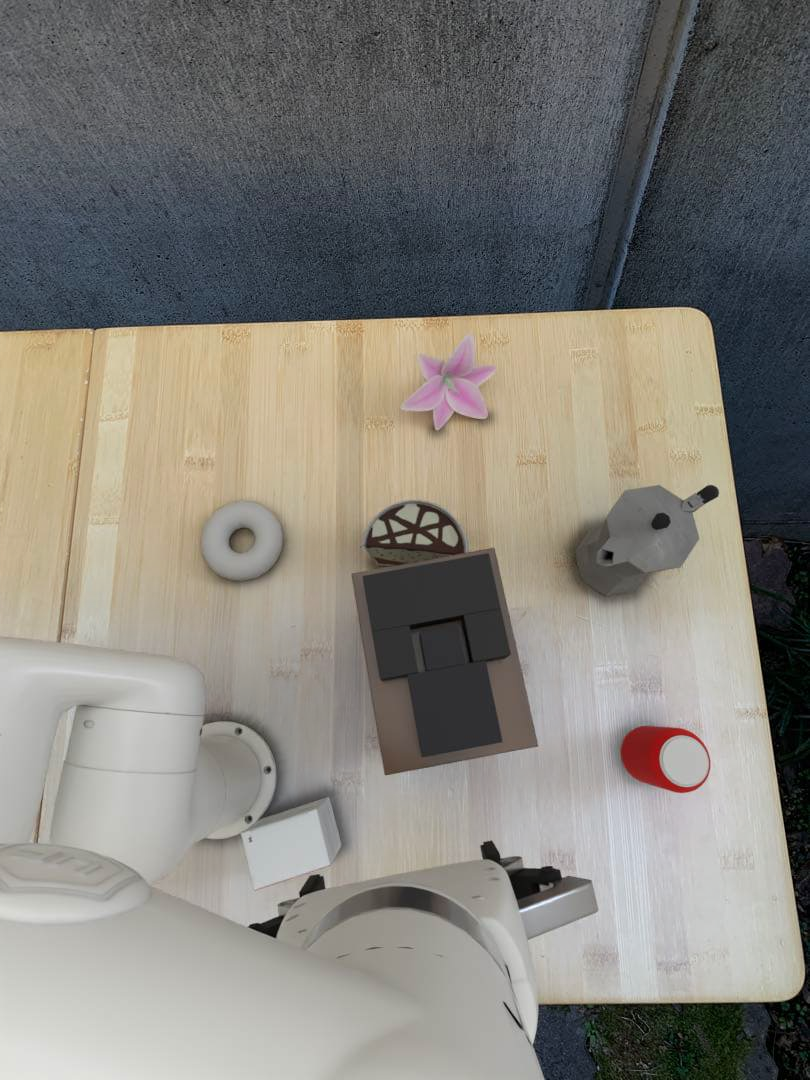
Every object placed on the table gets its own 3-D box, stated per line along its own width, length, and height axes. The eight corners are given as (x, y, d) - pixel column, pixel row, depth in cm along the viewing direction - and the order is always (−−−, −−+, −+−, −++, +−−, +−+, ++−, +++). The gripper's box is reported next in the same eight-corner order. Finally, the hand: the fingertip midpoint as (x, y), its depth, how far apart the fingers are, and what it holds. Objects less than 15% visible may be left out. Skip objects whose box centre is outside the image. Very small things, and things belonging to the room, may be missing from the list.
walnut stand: (395, 754, 78) (384, 775, 52) (372, 617, 82) (351, 573, 56) (498, 735, 78) (538, 746, 52) (470, 599, 82) (494, 547, 56)
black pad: (381, 681, 54) (379, 679, 51) (365, 583, 56) (362, 575, 53) (506, 657, 54) (511, 654, 51) (485, 561, 56) (488, 552, 53)
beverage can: (657, 717, 78) (698, 718, 67) (681, 770, 77) (728, 780, 65) (608, 737, 78) (642, 741, 66) (632, 791, 77) (671, 805, 65)
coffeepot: (589, 621, 81) (636, 596, 64) (545, 555, 83) (578, 514, 66) (693, 555, 83) (766, 513, 66) (647, 493, 85) (706, 436, 68)
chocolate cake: (468, 524, 85) (475, 500, 75) (465, 573, 83) (471, 554, 73) (370, 515, 85) (364, 490, 75) (365, 563, 84) (358, 544, 74)
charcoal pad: (421, 755, 52) (421, 757, 49) (400, 639, 54) (399, 635, 51) (498, 740, 52) (502, 742, 49) (474, 625, 55) (477, 620, 52)
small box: (273, 868, 75) (251, 893, 65) (261, 816, 77) (237, 832, 66) (343, 846, 76) (332, 867, 66) (330, 795, 77) (317, 807, 67)
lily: (386, 422, 89) (405, 425, 80) (400, 330, 87) (421, 322, 78) (472, 436, 92) (498, 440, 83) (487, 348, 90) (516, 342, 81)
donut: (220, 595, 83) (296, 565, 84) (211, 590, 80) (291, 559, 80) (195, 522, 85) (270, 493, 86) (186, 514, 82) (264, 484, 83)
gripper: (131, 1225, 20) (261, 993, 37) (702, 1107, 21) (574, 930, 37) (112, 945, 22) (244, 845, 38) (636, 843, 22) (543, 787, 39)
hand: (406, 887), depth 38 cm, fingers open, 9 cm apart
